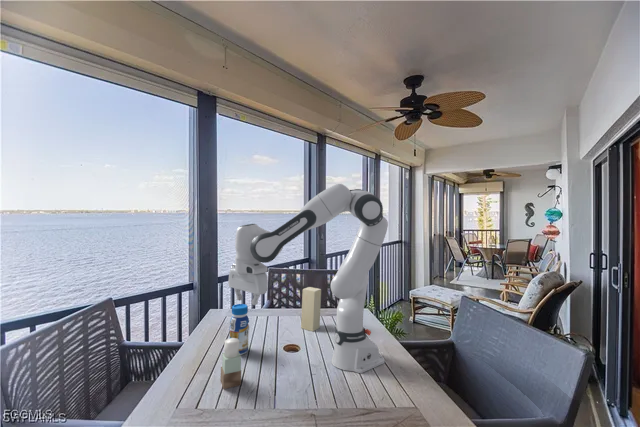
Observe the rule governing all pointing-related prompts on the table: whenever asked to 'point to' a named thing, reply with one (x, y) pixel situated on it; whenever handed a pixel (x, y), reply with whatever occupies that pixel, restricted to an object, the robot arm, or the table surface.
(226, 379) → the tower base
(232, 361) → the tower top
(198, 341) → the table surface
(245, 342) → the beverage bottle
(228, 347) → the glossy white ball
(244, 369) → the table surface
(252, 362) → the table surface
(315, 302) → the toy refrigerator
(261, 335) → the table surface
